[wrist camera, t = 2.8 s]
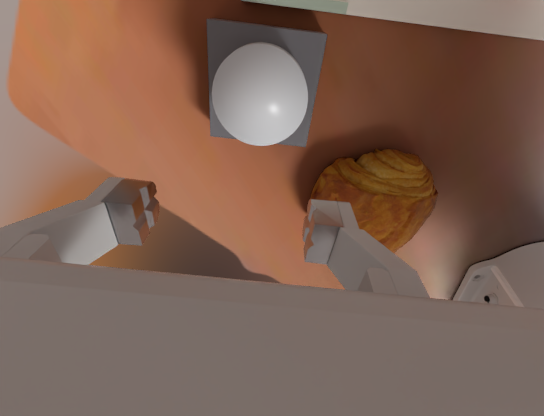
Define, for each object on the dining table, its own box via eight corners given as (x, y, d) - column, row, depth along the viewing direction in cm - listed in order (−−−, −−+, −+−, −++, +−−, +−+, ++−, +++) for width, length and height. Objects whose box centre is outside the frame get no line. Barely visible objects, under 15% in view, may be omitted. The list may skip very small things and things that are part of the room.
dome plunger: (297, 134, 28) (299, 150, 25) (221, 125, 28) (213, 140, 24) (312, 46, 23) (317, 51, 20) (220, 34, 23) (210, 38, 20)
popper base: (304, 136, 30) (305, 146, 28) (216, 126, 30) (210, 136, 28) (323, 32, 24) (327, 34, 22) (214, 18, 24) (206, 18, 22)
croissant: (436, 157, 34) (482, 183, 27) (375, 250, 41) (399, 290, 34) (334, 120, 31) (355, 138, 24) (287, 227, 38) (293, 264, 31)
